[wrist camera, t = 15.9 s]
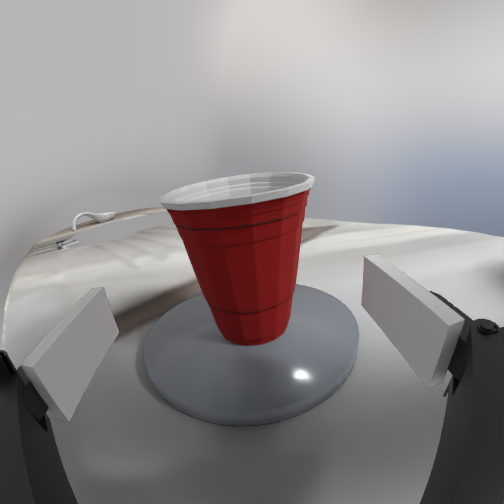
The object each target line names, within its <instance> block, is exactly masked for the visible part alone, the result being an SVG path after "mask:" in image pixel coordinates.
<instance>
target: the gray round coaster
mask: <svg viewBox="0 0 504 504" xmlns="http://www.w3.org/2000/svg"><path fill="white" fill-rule="evenodd" d="M358 339H359V330H358V325H357V322H356V319H355V317H354V315H353V314H352V312H351V311H350V310H349V309H348V307H347V306H346V305H345V304H343V303H342V302H341V301H340V300H338V299H337V298H335V297H333V296H332V295H330V294H328V293H325V292H323V291H321V290H318V289H315V288H311V287H308V286H303V285H298V284H296V285H295V290H294V292H293V299H292V307H291V315H290V320H289V322H288V326H287V328H286V330H285V332H284V333H283V334H282V335H281V336H279V337H278V338H277V339H275V340H273V341H271V342H268V343H265V344H262V345H252V346H244V345H239V344H233V343H232V342H230V341H228V340H226V339H225V338H224V337H223V335H222V333H221V332H220V330H219V329H218V327H217V325H216V323H215V320H214V317H213V315H212V312H211V310H210V307H209V305H208V303H207V301H206V299H205V298H204V295H203V293H202V294H200V295H197V296H194V297H192V298H190V299H188V300H186V301H184V302H182V303H180V304H178V305H177V306H175V307H174V308H172V309H171V310H169V311H168V312H167V313H165V314H164V315H163V316H162V317H161V318H160V319H159V320H158V321H157V322H156V323H155V324H154V325H153V327H152V328H151V329H150V331H149V333H148V335H147V337H146V340H145V343H144V348H143V357H144V363H145V366H146V369H147V371H148V374H149V376H150V378H151V380H152V382H153V384H154V386H155V388H156V389H157V391H158V392H159V393H160V395H161V396H162V397H163V398H164V399H165V400H166V401H167V402H169V403H170V404H171V405H172V406H174V407H175V408H176V409H178V410H180V411H182V412H184V413H186V414H187V415H189V416H192V417H195V418H198V419H200V420H203V421H207V422H212V423H216V424H221V425H233V426H251V425H262V424H268V423H273V422H279V421H282V420H285V419H288V418H291V417H294V416H297V415H299V414H302V413H304V412H306V411H308V410H310V409H312V408H314V407H315V406H317V405H319V404H320V403H322V402H323V401H325V400H326V399H327V398H329V397H330V396H331V395H332V394H333V393H334V392H335V391H337V390H338V389H339V388H340V386H341V385H342V384H343V383H344V381H345V380H346V379H347V377H348V376H349V374H350V372H351V370H352V369H353V366H354V363H355V360H356V355H357V347H358Z"/></svg>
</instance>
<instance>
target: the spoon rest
mask: <svg viewBox="0 0 504 504" xmlns="http://www.w3.org/2000/svg"><path fill="white" fill-rule="evenodd" d="M115 214H116V212H112V213H111V212H110V213H104V214H95V213H81V214H79V215H77V216H76V217H75V219H74V220H73V223H72V230H73V231H76V226H75V224H76V220H77V219H78V218H79V217H81V216H83V215H86V216H89V217H91V218H92V219H94V220H95V221H97V222H99V223H102V222H106V221H109V220H111V219H112V218H113V217H114V216H115Z"/></svg>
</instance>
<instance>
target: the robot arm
mask: <svg viewBox="0 0 504 504" xmlns="http://www.w3.org/2000/svg"><path fill="white" fill-rule="evenodd" d="M361 305H362V306H363V308H364V309H365V310H366V311H367V312H368V314H369V315H370V316H371V317H372V318H373V320H374V321H375V322H376V323H377V325H378V326H379V327H380V328H381V329H382V331H383V332H384V333H385V334H386V336H387V337H388V338H389V339H390V341H391V342H392V343H393V344H394V346H395V347H396V348H397V349H398V351H399V352H400V353H401V355H402V356H403V357H404V358H405V360H406V361H407V362H408V364H409V365H410V366H411V368H412V369H413V370H414V371H415V373H416V374H417V375H418V377H419V378H420V379H421V381H422V382H423V383H424V385H425V386H426V387H427V389H428V388H430V387H432V386H434V385H436V384H439V383H441V382H443V380H444V377H445V375H446V372H447V370H449V371H450V372H451V374H452V378H451V380H450V382H449V384H448V386H447V389H446V391H445V393H444V395H443V396H445V397H446V395H447V393H448V400H447V406H446V412H445V418H444V423H443V428H442V433H441V438H440V442H439V446H438V450H437V454H436V457H435V461H434V464H433V468H432V471H431V474H430V477H429V480H428V483H427V486H426V489H425V492H424V494H423V497H422V499H421V502H420V504H504V327H501V328H499V326H498V325H497V324H496V323H494V322H492V321H490V320H487V319H477V320H474V321H473V320H472V319H471V318H469V317H468V316H467V315H466V314H464V313H463V312H462V311H460V310H459V309H458V308H457V307H454V305H453V304H451V303H450V302H448V301H447V300H446V299H445V298H444V297H442V296H441V295H439V294H437V293H434V292H432V291H428V290H427V289H425V288H424V287H423V286H421V285H420V284H419V283H417V282H416V281H414V280H413V279H412V278H410V277H409V276H408V275H406V274H405V273H403V272H402V271H401V270H399V269H398V268H396V267H395V266H394V265H392V264H391V263H389V262H388V261H386V260H385V259H384V258H382V257H381V256H379V255H378V254H375V255H368V256H364V272H363V290H362V304H361ZM118 334H119V330H118V327H117V325H116V322H115V319H114V316H113V314H112V311H111V308H110V305H109V302H108V299H107V296H106V293H105V289H104V287H98V288H92V289H91V290H90V291H89V292H88V293H87V294H86V295H85V296H84V297H83V298H81V299H80V300H79V301H78V302H77V303H76V305H75V306H74V307H73V308H72V309H71V310H70V311H69V312H68V313H67V314H66V315H65V316H64V317H63V318H62V319H61V320H60V321H59V322H58V323H57V324H56V325H55V326H54V327H53V328H52V330H51V331H50V332H49V333H48V334H47V335H46V336H45V337H44V338H43V339H42V341H41V342H40V343H39V344H38V345H37V346H36V347H35V348H34V350H33V351H32V352H31V353H30V354H29V355H28V357H27V358H26V359H25V360H24V361H23V363H22V364H21V366H20V367H19V368H18V369H17V370H16V368H15V367H14V365H13V363H12V361H11V360H10V358H9V356H8V354H7V352H6V351H4V350H0V504H78V503H77V500H76V498H75V496H74V493H73V491H72V489H71V486H70V484H69V481H68V479H67V476H66V473H65V470H64V468H63V465H62V462H61V459H60V455H59V452H58V449H57V446H56V442H55V438H54V435H53V431H52V427H51V422H50V419H49V417H48V416H47V415H46V412H47V410H48V408H49V409H50V411H51V412H52V413H53V415H54V416H55V417H56V418H57V419H61V420H65V421H69V422H70V420H71V418H72V416H73V414H74V412H75V410H76V408H77V406H78V404H79V402H80V400H81V398H82V396H83V395H84V393H85V391H86V389H87V387H88V385H89V384H90V382H91V380H92V378H93V376H94V375H95V373H96V371H97V369H98V368H99V366H100V364H101V362H102V361H103V359H104V357H105V355H106V354H107V352H108V350H109V349H110V347H111V345H112V344H113V342H114V340H115V339H116V337H117V335H118Z"/></svg>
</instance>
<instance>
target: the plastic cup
mask: <svg viewBox="0 0 504 504" xmlns="http://www.w3.org/2000/svg"><path fill="white" fill-rule="evenodd" d="M314 180H315V177H313V176H311V175H309V174H303V173H294V172H271V173H256V174H246V175H239V176H231V177H225V178H219V179H214V180H209V181H204V182H200V183H196V184H193V185H188V186H185V187H182V188H179V189H176V190H174V191H171V192H168V193H166V194H165V195H163V196H162V197H160V198H159V200H160V202H161V204H162V206H163V208H164V209H167V211H168V212H169V214H170V215H171V217H172V220H173V222H174V224H175V225H176V227H177V230H178V232H179V235H180V237H181V238H182V240H183V243H184V245H185V248H186V251H187V253H188V256H189V259H190V262H191V264H192V267H193V270H194V272H195V275H196V277H197V280H198V282H199V285H200V288H201V290H202V293H203V295H204V298H205V299H206V301H207V303H208V305H209V307H210V310H211V312H212V315H213V317H214V320H215V323H216V325H217V327H218V329H219V330H220V332H221V333H222V335H223V337H224V338H225V339H226V340H228V341H230V342H232V343H233V344H239V345H244V346H252V345H262V344H265V343H268V342H271V341H273V340H275V339H277V338H278V337H279V336H281V335H282V334H283V333H284V332H285V330H286V328H287V326H288V322H289V320H290V315H291V307H292V299H293V292H294V290H295V285H296V277H297V269H298V260H299V252H300V242H301V233H302V223H303V221H304V215H305V207H306V205H307V196H308V195H309V190H310V187H311V186H312V185H313V184H314Z"/></svg>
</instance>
